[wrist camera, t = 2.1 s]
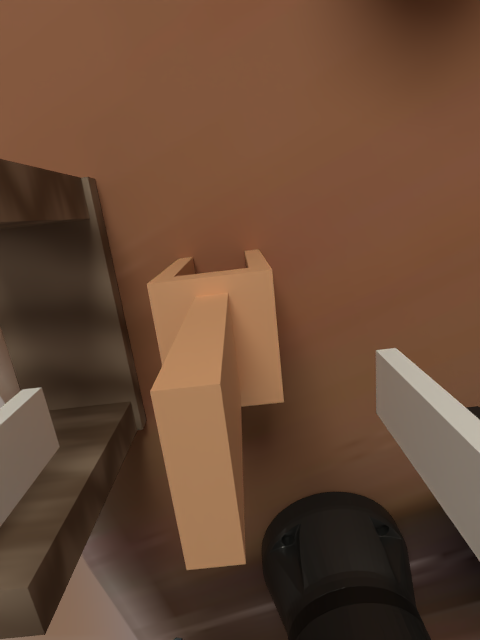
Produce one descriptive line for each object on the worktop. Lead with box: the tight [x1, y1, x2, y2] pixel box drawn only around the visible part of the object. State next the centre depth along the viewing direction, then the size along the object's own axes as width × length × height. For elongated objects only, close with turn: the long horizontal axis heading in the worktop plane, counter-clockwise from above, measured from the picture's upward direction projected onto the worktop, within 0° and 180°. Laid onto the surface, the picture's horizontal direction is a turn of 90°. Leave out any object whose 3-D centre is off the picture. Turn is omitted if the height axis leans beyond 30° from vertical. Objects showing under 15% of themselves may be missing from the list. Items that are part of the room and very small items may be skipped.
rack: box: [0, 159, 146, 639], centre depth 23 cm, size 22×10×18 cm, turn 7°
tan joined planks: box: [147, 249, 284, 570], centre depth 21 cm, size 8×7×23 cm
